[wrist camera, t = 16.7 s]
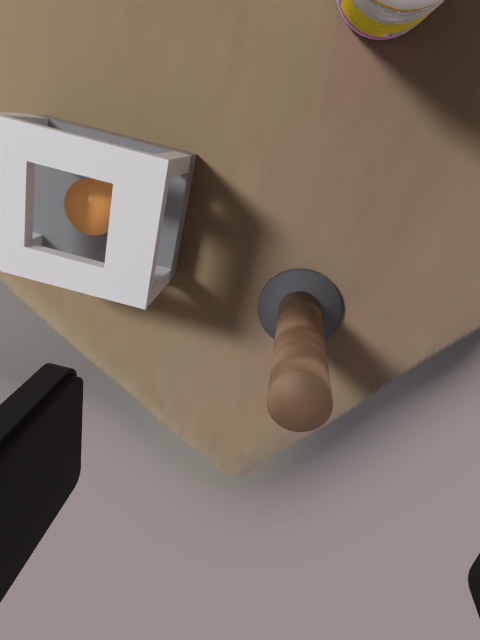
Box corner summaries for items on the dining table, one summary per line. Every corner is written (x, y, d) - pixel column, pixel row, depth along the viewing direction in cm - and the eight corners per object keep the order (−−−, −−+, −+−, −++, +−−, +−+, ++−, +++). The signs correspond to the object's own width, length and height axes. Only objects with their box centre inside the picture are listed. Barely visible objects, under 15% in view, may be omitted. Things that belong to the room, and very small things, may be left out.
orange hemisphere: (130, 184, 32) (120, 187, 31) (124, 235, 34) (114, 241, 32) (78, 170, 33) (65, 172, 31) (74, 222, 34) (62, 227, 32)
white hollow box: (196, 154, 33) (168, 159, 26) (175, 275, 37) (145, 309, 30) (46, 115, 34) (-24, 110, 26) (41, 239, 38) (-21, 265, 30)
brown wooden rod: (326, 297, 36) (341, 386, 23) (313, 335, 38) (321, 438, 25) (284, 286, 36) (276, 369, 23) (273, 324, 38) (259, 422, 25)
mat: (352, 281, 36) (353, 282, 35) (326, 354, 39) (326, 356, 38) (270, 259, 36) (269, 260, 36) (249, 333, 39) (249, 335, 38)
